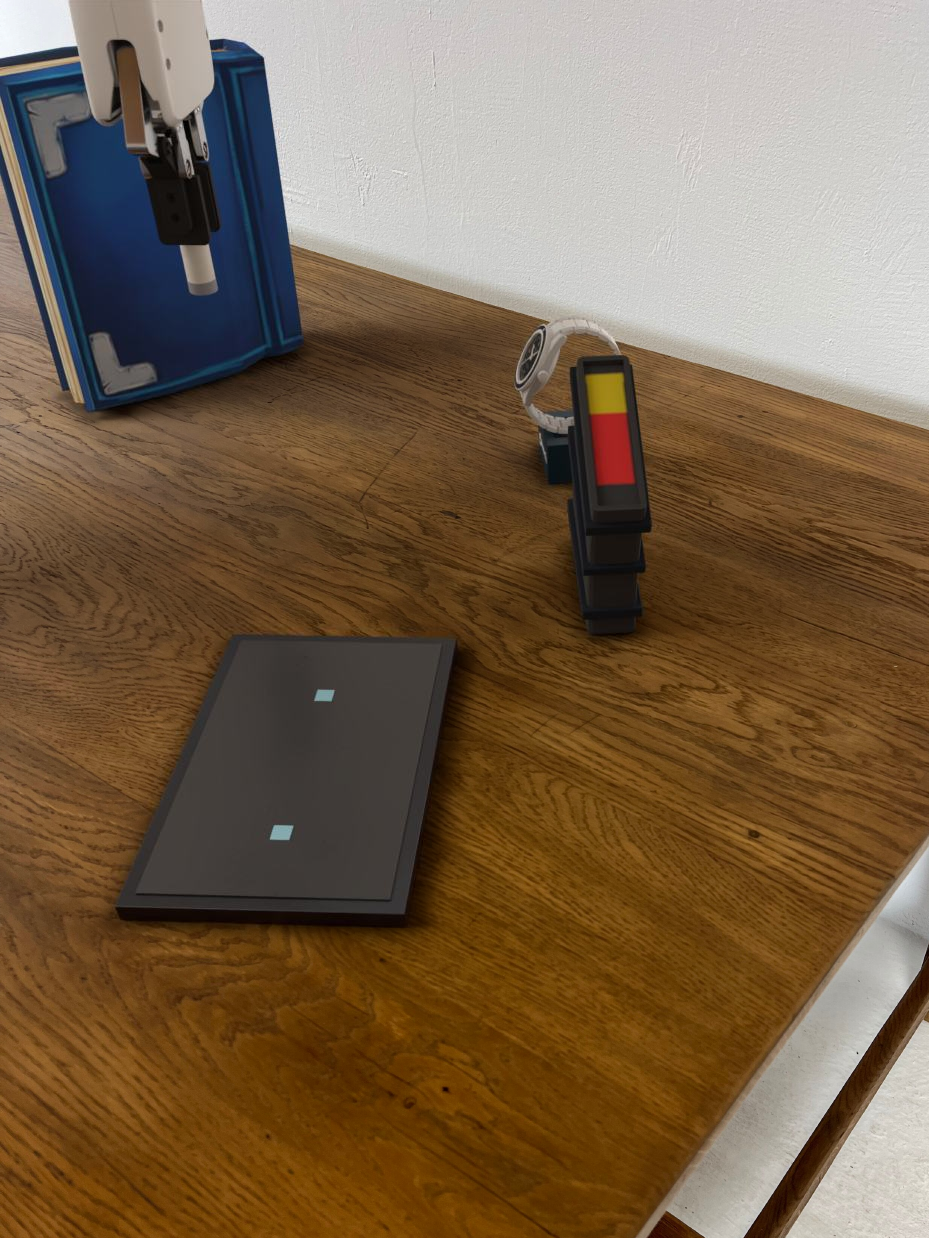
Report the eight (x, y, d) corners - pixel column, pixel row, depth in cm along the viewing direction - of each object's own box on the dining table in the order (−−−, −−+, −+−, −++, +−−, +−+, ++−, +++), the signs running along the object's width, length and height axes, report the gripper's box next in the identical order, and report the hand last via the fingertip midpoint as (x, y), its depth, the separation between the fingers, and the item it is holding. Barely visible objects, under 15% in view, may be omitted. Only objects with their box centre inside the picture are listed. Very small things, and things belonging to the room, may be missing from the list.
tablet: (119, 919, 56) (112, 904, 55) (235, 646, 72) (231, 631, 71) (406, 927, 55) (404, 912, 54) (458, 650, 71) (456, 635, 70)
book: (283, 328, 109) (228, 20, 92) (321, 352, 105) (271, 33, 88) (60, 394, 99) (-47, 60, 82) (93, 422, 95) (-13, 78, 78)
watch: (514, 451, 90) (507, 312, 83) (614, 443, 91) (617, 304, 84) (522, 486, 86) (516, 343, 79) (627, 477, 87) (631, 335, 80)
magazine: (616, 498, 81) (633, 349, 68) (634, 664, 77) (657, 540, 63) (563, 501, 81) (570, 352, 67) (579, 667, 76) (589, 544, 62)
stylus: (186, 295, 75) (152, 145, 69) (193, 285, 77) (161, 136, 71) (214, 296, 75) (183, 145, 69) (221, 285, 77) (191, 137, 71)
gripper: (95, -137, 67) (169, 198, 80) (-13, -106, 56) (93, 281, 68) (222, -137, 67) (276, 199, 79) (140, -106, 55) (219, 282, 68)
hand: (191, 234), depth 74 cm, fingers closed on stylus, 1 cm apart
